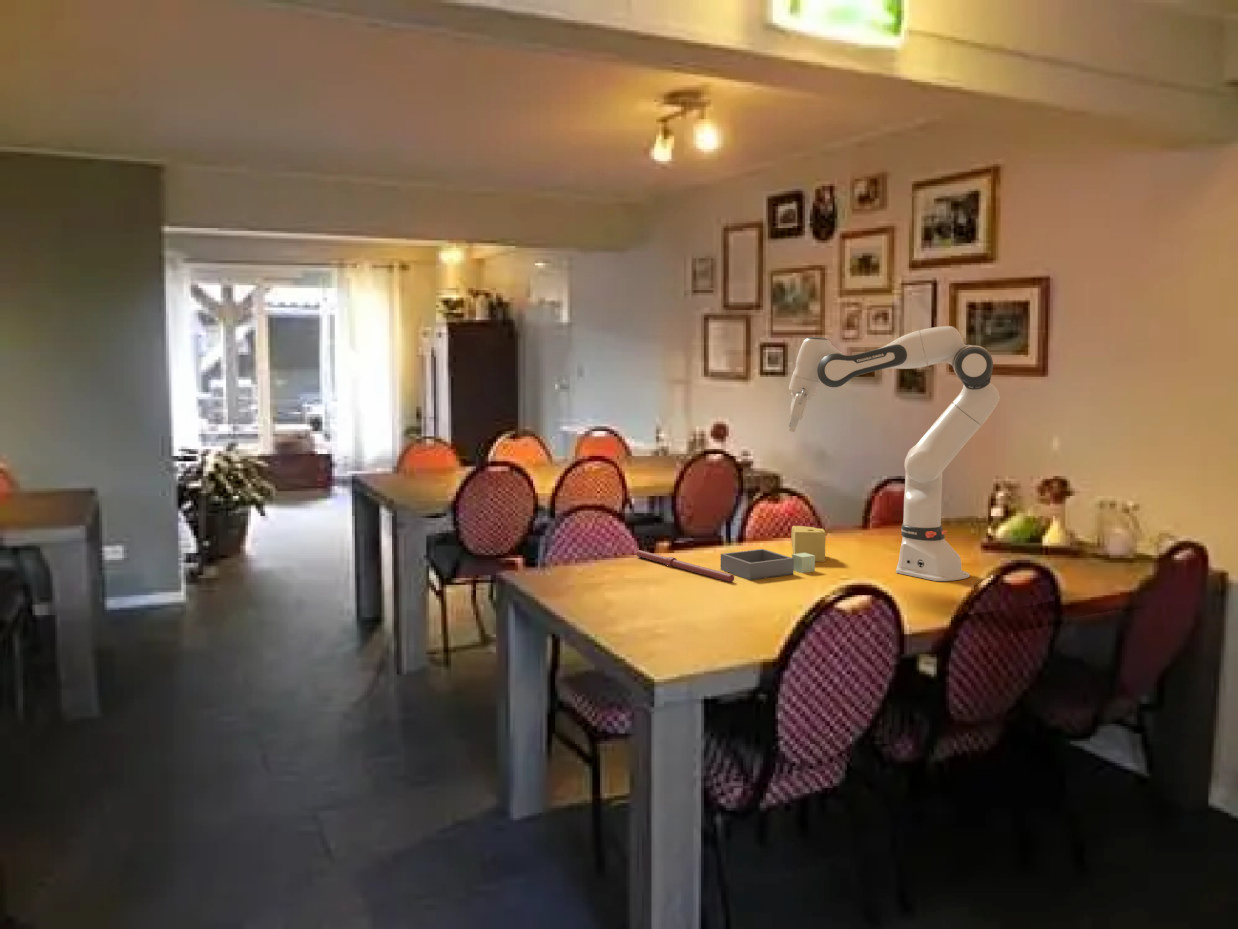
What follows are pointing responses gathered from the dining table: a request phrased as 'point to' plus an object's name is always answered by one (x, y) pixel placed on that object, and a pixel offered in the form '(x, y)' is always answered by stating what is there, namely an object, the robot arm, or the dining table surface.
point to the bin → (757, 564)
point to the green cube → (804, 562)
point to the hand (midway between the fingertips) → (791, 429)
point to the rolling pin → (686, 566)
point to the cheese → (809, 541)
